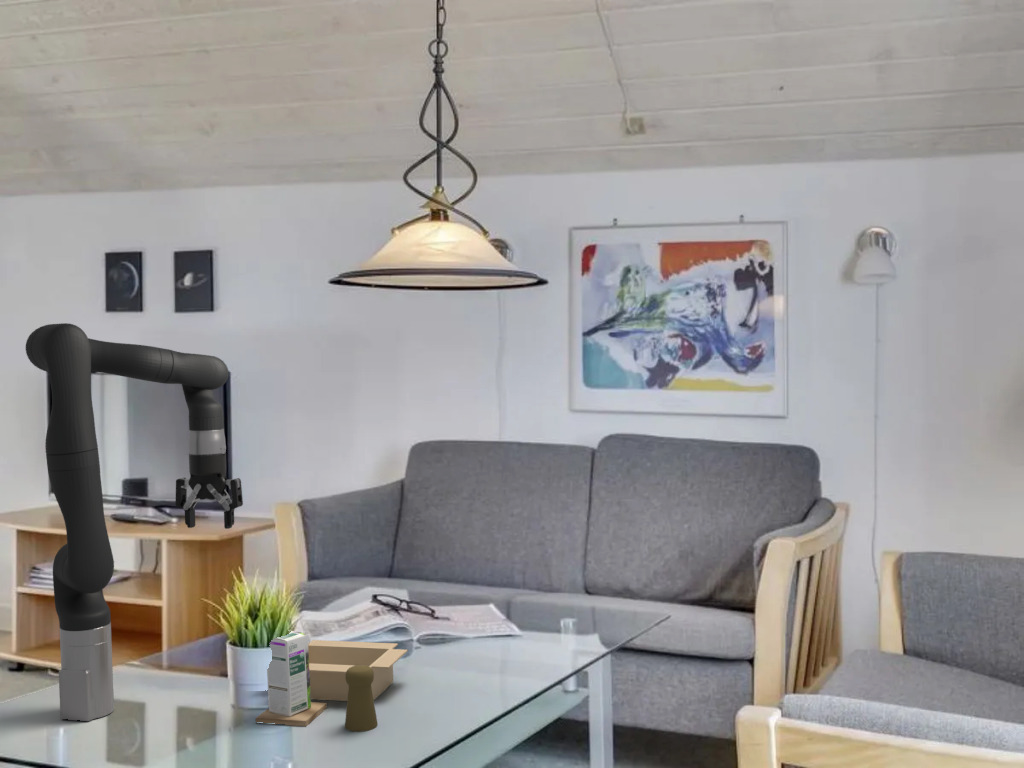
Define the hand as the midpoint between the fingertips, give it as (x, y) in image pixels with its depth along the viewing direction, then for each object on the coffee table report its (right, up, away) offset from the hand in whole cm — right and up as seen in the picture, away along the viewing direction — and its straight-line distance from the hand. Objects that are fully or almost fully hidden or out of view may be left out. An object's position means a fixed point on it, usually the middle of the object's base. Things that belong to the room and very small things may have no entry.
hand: (209, 527), depth 231 cm
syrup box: (+21, -32, -23) cm, 45 cm away
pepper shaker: (+36, -33, -29) cm, 57 cm away
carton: (+28, -32, -8) cm, 43 cm away
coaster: (+22, -33, -23) cm, 45 cm away
